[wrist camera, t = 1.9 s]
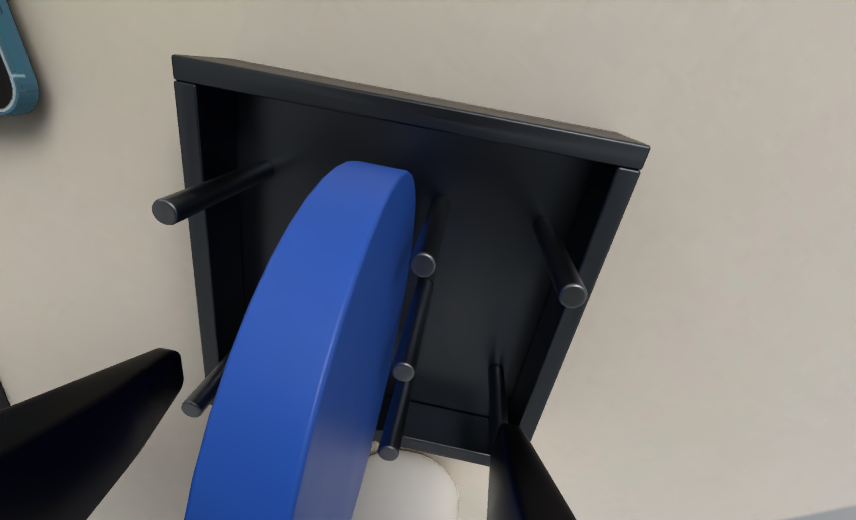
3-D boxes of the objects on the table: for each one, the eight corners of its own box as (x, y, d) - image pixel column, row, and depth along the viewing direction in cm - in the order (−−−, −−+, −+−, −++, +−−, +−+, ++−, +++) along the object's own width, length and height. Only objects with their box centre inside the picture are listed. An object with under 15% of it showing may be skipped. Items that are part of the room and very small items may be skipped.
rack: (618, 132, 12) (714, 170, 7) (512, 418, 17) (525, 553, 12) (229, 58, 12) (66, 45, 7) (243, 360, 17) (154, 468, 12)
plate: (431, 136, 11) (257, 369, 3) (389, 386, 16) (274, 790, 7) (391, 128, 12) (82, 329, 3) (360, 380, 16) (209, 773, 7)
